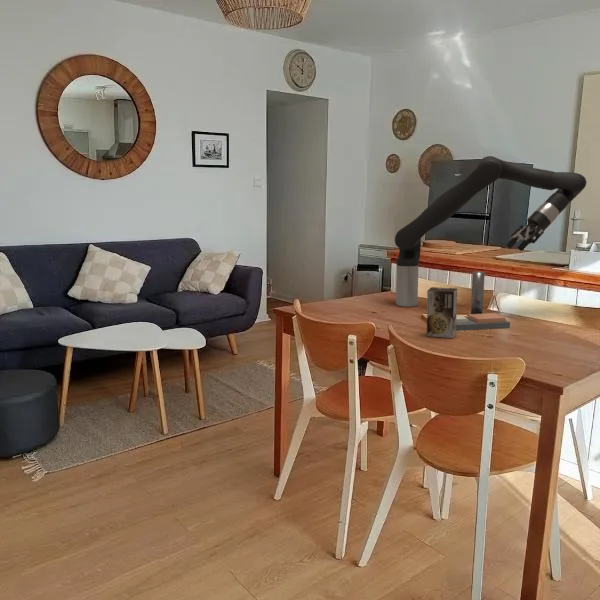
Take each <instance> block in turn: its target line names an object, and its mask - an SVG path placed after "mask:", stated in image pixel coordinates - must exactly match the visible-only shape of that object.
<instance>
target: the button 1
mask: <svg viewBox="0 0 600 600" xmlns="http://www.w3.org/2000/svg"><path fill="white" fill-rule="evenodd" d="M457 323H468V319H467V317H465V316H463V315H456V324H457Z"/></svg>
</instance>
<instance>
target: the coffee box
mask: <svg viewBox="0 0 600 600" xmlns="http://www.w3.org/2000/svg"><path fill="white" fill-rule="evenodd" d="M426 291H427V294H426V295H427V296H426V297H427V298H426V299H427V302H426V304H427V305H426V336H427V337H433V338H436V337H437V338H445V339H446V338H448V339H453V338H455V336H456V335H457V331H456V316H457V312H458V311H457V308H458V307H457V306H458V298H457V297H458V288H457V287H453V288H452V287H438V286H436V287H434V286H433V287H429V288H428V290H426Z"/></svg>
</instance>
